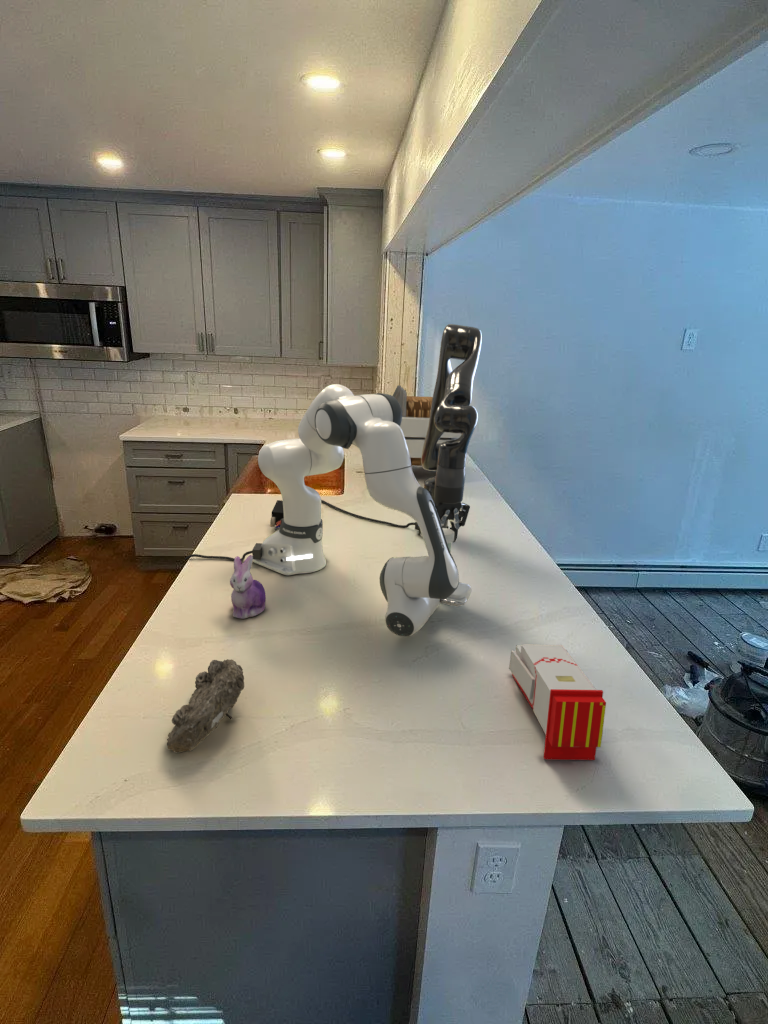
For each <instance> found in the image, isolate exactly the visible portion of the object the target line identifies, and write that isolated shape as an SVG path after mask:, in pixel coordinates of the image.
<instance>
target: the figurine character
mask: <svg viewBox="0 0 768 1024" xmlns="http://www.w3.org/2000/svg"><path fill="white" fill-rule="evenodd" d="M283 518H284V511H283V500H281V499H279V500H276V501H275V504H274V505H273V508H272V510H271V517H270V520H269V521H270V522H269V526H270V527H271V528H272V527H273V528H274V531H275V532H276V531H278V529H279V528H280V525H278V526H276V525H277V524H278V523H277V522H279V521H280V520H281V519H283ZM276 523H277V524H276Z"/></svg>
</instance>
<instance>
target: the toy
mask: <svg viewBox="0 0 768 1024" xmlns="http://www.w3.org/2000/svg"><path fill="white" fill-rule="evenodd" d="M510 651H511V653H510V658H509V659H510V660H509V666H508V669H509V671H510V672H511V676H512V678H513V679H514V681H515V682H516V685H517V686H518V688H519V690H520V691H521V692H522V694H523V697H525V699H526V701H527V703H528V704H529V706H530V708H531V709H532V711H533V713H534V715H535V717H536V719H537V721H538V723H539V725H540V727H541V728H542V731H543V732H544V734H545V739H544V750H543V760H555V761H557V760H560V761H561V760H562V761H563V760H564V761H565V760H567V761H570V760H571V761H595V760H596V754H597V748H601V746H602V740H603V738H602V737H603V732H604V723H605V716H606V707H607V701H606V700H605V698H603V696H604V691H603V690H602V689H597V688H596V687H595V686H594V684H593V683H592V682H591V681H590V679H589V677H587V675H586V674H585V673H584V671H583V670H582V669H581V667H580V666H579V664H578V663H576V660H574V659H573V658H572V656H571V655H570V653H569V652H568V650H567V649H566V648H565V647H564V645H562V644H529V643H525V644H524V643H523V644H522V643H521V645H520V644H519V645H518V644H517V645H515V650H514V649H513V650H510Z"/></svg>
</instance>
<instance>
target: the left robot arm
mask: <svg viewBox="0 0 768 1024" xmlns="http://www.w3.org/2000/svg"><path fill="white" fill-rule="evenodd" d="M401 422H402V410H401V407H400V404H399V402H398V401H397V399H396V398H395V397H393V395H391V394H388V393H383V392H377V393H376V392H375V393H370V394H367V393H366V394H354V392H353V391H352V390H351V389H350V388H348V387H347V386H345V385H343V384H339V383H333V384H329V385H327V386H325V387H324V388H323V389H322V390H321V391H320V392H319V393H318V394H317V395H316V397H315V398H314V399H313V400H312V401H311V402H310V404H309V406H308V407H307V409H306V411H305V413H304V415H303V416H302V418H301V420H300V421H299V423H298V427H297V433H298V434H297V435H298V438H288V439H278V440H275V441H272V442H269V443H266V444H264V445H262V447H261V448H260V450H259V451H258V454H257V465H258V467H259V469H260V472H261V473H262V475H263V476H264V477H265V478H267V479H269V480H270V481H271V482H273V483H274V484H275V485H276V486H277V488H278V490H279V492H280V495H281V499H282V501H283V511H284V518H283V519H281V520H280V521H279V522H277V523H278V524H277V523H276V524H277V525H275V527H276V526H278V525H280V528H279V527H278V529H277V531H275V532H273V533H272V534H270V535H269V536H267V537H266V538H264V539H263V541H262V542H256V543H255V544H254V546H253V548H252V550H249V551H246V552H245V553H243V554H242V557H241V558H240V559H241V562H244V561H245V560H246V556H249V555H252V556H253V562H252V563H254V564H256V565H259V566H261V567H264V568H267V569H269V570H271V571H274V572H276V573H279V574H282V575H284V576H293V575H298V574H311V573H315V572H318V571H320V570H322V569H324V568H325V567H326V565H327V560H326V557H325V552H324V547H323V534H324V533H323V531H324V530H323V527H324V526H323V525H324V524H323V523H324V522H323V519H322V502H321V500H322V497H321V495H320V493H319V492H318V490H316V489H314V488H313V487H310V486H309V485H306V483H305V478H306V477H310V476H317V475H318V476H319V475H324V474H328V473H330V472H333V471H335V470H337V469H340V467H341V466H342V465H343V462H344V460H345V459H344V458H345V451H344V450H345V449H346V450H349V449H350V448H351V447H352V446H355V447H357V449H358V450H359V451H360V454H361V459H362V467H363V472H364V480H365V485H366V489H367V491H368V494H369V496H370V497H371V498H372V499H373V500H374V501H375V502H376V503H377V504H378V505H380V506H382V507H384V508H387V509H390V510H393V511H396V512H399V513H402V514H404V515H406V516H408V517H410V518H411V519H413V520H414V522H417V524H418V525H419V527H420V530H421V533H422V537H423V538H422V537H421V538H422V540H423V543H424V546H425V549H426V552H427V555H424V556H423V555H422V556H396V557H395V556H394V557H390V558H389V559H388V560H386V562H385V563H384V565H383V567H382V568H381V571H380V574H379V586H380V590H381V591H380V592H381V593H382V596H383V597H384V599H385V601H386V602H387V608H386V612H385V616H384V617H385V618H384V621H385V625H386V627H387V629H388V630H389V631H390V632H391V633H393V634H394V635H396V636H399V637H411V636H413V635H415V634H416V633H418V632H419V631H420V630H421V629H422V628H423V627H424V625H426V623H427V622H428V620H429V618H430V617H431V616H432V615H433V614H434V613H435V611H436V610H437V609H438V607H439V606H440V605H441V604H444V605H447V606H451V607H458V608H459V607H462V606H464V605H466V603H467V602H468V601H469V600H470V598H471V595H472V586H471V585H470V584H469V583H464V582H460V575H459V569H458V565H457V564H456V562H455V559H454V557H453V555H452V553H451V552H450V550H449V547H448V544H447V541H446V538H445V535H444V532H443V529H442V526H441V522H440V519H439V516H438V513H437V510H436V507H435V505H434V502H433V500H432V497H431V495H430V493H429V492H428V490H427V489H425V488H424V486H423V487H422V486H421V484H420V483H419V482H418V480H417V478H416V476H415V474H414V472H413V471H414V470H413V467H412V466H411V460H410V455H409V451H408V447H407V443H406V440H405V437H404V434H403V432H402V429H401V428H400V425H401ZM190 558H202V559H211V560H212V559H216V560H229V561H232V562H234V559H235V557H231V556H220V555H204V554H197V553H193V554H189V555H187V556H186V557H185V558H184V560H185V561H187V560H189V559H190Z"/></svg>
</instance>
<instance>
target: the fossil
mask: <svg viewBox="0 0 768 1024" xmlns="http://www.w3.org/2000/svg"><path fill="white" fill-rule="evenodd" d="M243 670H244V669H243V667H242V665H240V664H237V662H236V661H235V660H234V659H232V658H231V659H227V658H226V659H224V660H223V661H222V660H217V659H212V660H211V661H210V663H209V665H208V666H207V671H201V672H199V673H198V674H197V675H196V676H195V680H194V684H195V685H194V687H195V689H194V690H193V693H192V694H191V697H190V698H189V700H188V704H184V705H182V706H181V707H180V709H177V710H176V711H175V713H174V715H173V716H172V718H171V723H172V724H173V727H172V730H171V731H170V732H168V734H167V738H166V741H167V742H166V745H167V749H168V750H169V751H173V752H174V753H176V754H178V753H182V752H188V751H189V752H192V751H193V750H195V748H196V747H197V746H199V744H200V743H201V742H203V741H204V740H205V739H206V738H207V737H208V736H209V735H210V734H211V733H212V732H214V730H215V729H217V727H218V726H219V724H220V722H221V721H222V720H223V719H224V718H225V716H226V717H227V719H229V720H233V717H232V715H230V714H229V710H230V709H231V708H234V706H235V704H236V703H237V702H238V699H239V697H240V695H241V693H242V691H243V690H245V689H244V688H245V675H244V671H243Z"/></svg>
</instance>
